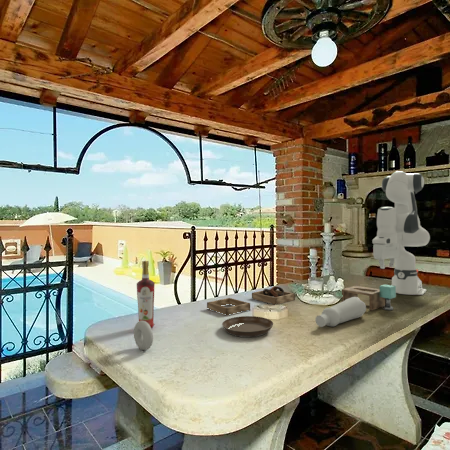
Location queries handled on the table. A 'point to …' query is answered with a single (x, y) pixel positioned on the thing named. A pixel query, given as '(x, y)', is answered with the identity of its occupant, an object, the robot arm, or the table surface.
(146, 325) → the donut
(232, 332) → the plant saucer
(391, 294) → the teal stemmed block
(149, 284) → the liquor
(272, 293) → the pottery mug
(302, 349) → the table surface
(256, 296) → the tray
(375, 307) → the tan hollow wooden block
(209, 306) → the tray
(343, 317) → the bottle
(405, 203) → the robot arm
